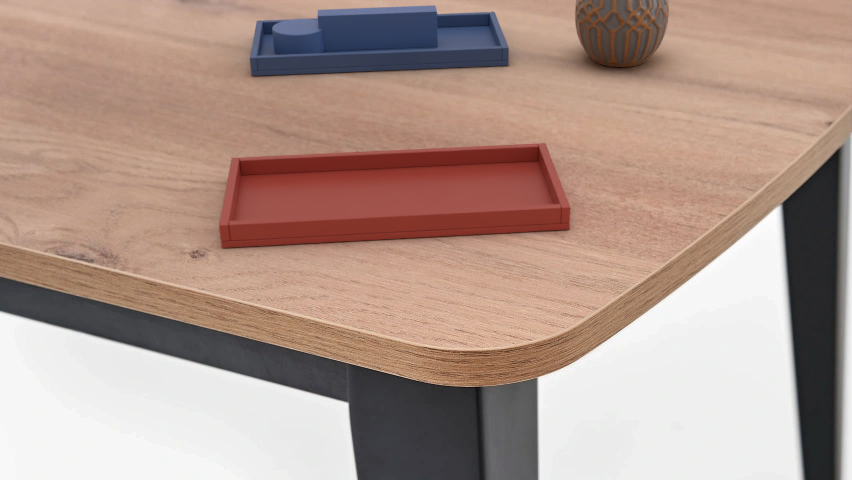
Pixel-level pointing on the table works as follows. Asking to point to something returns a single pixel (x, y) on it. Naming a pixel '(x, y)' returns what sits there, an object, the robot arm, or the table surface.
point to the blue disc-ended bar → (358, 30)
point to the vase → (621, 29)
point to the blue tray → (392, 50)
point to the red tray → (391, 195)
